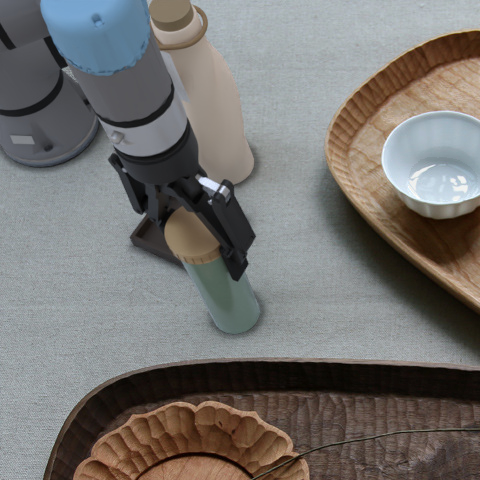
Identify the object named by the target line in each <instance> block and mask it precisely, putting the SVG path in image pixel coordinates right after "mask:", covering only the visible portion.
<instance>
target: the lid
mask: <svg viewBox="0 0 480 480" xmlns="http://www.w3.org/2000/svg"><path fill="white" fill-rule="evenodd" d="M164 234H165V239H166V242H167V245H168V247H169V249H170V250H171V251H172V253H173V255H174V256H176V257H177V258H178V259H179V260H181V261H183V262H185V263H189V264H194V265H195V264H205V263H209V262H212V261H214V260H216V259H217V258H219V257H220V256H221V254H220V251H219V248H220V247H221V244H220V243H219V242H218V241H217V239H216V238H215V237H214V236H213V235H212V234H211V232H210V231H209V230H208V229H207V228H206V226H205V225H204V224H203V223H202V222H201V221H200V219H199V218H198V217H197V216H196V215H195V213H193V212H188V211H186V209H185V208H184V207H183V206H182V207H180V208H179V209H177V210H176V211H175V212H174V213H173V214H172V215H171V216H170V217H169V219H168V220H167V223H166V226H165V231H164Z"/></svg>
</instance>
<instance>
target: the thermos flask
mask: <svg viewBox="0 0 480 480" xmlns="http://www.w3.org/2000/svg"><path fill="white" fill-rule="evenodd" d="M182 263H183V265H184V267H185V268H184V267H183V268H184V269H185V271H186V273H187V275H188V276H189V278H190V280H191V282H192V284H193V286H194V288H195V289H196V291H197V293H198V295H199V297H200V298H201V300H202V302H203V304H204V306H205V308H206V310H207V312H208V313H209V315H210V317H211V319H212V321H213V323H214V325H215V326H216V327H217V329H218V330H220V331H221V332H224V333H226V334H230V335H238V334H243V333H245V332H247V331H249V330H250V329H252V328H253V327H255V325H256V323H257V322H258V320H259V318H260V314H261V308H260V305H259V302H258V300H257V297H256V295H255V292H254V290H253V287H252V285H251V283H250V280H249V277H248V275H247V273H246V270H245V271H244V273H243V275H242V276H241V278H240V279H239V281H238V282H237V281H234V280H232V278H231V276H230V273H229V271H228V269H227V267H226V265H225V262H224V260H223V258H222V256H220V257H219V258H217V259H216V260H214V261H212V262H209V263H205V264H195V265H194V264H189V263H185V262H183V261H182Z"/></svg>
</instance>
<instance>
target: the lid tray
mask: <svg viewBox="0 0 480 480" xmlns="http://www.w3.org/2000/svg"><path fill="white" fill-rule="evenodd" d="M169 200H170V201H172V203H171V204H170V206H169V207H168V209H167V211H169V210H170V208H173V209H175V210H177V209H179V208H180V207H182V205H181V203H180V202H179V201H178V200H177V199H176V198H175V197H172V196H170V195H169ZM128 238H129V239H130V241H131V243H132V244H133V246H135V247H137V248H139V249H142V250H144V251H146V252H148V253H150V254H153V255H155V256H157V257H159V258H162V259H164V260H166V261H169V262H171V263H173V264H175V265H178V266H180V267H182V268H184V269H185V267H184V265H183V263H182V261H181V260H179V259H178V258H177V257H175V256H174V255H173V253H172V251H171V250H170V249H169V247H168V245H167V242H166V239H165V237H164V235H163V234H162V233H161V232H160V230H159V228H158V226H157V225H156V223H154V222H152V221H151V220H150V219H149V217H148V214H146V213H145V214H144V216H143V218H142V219H141V221H140V222H139V223H138V225H136V227H135V229H134V230H133V231H132V232H131V234H130V235H129V237H128Z"/></svg>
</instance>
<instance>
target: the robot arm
mask: <svg viewBox="0 0 480 480" xmlns="http://www.w3.org/2000/svg"><path fill="white" fill-rule="evenodd" d="M150 21H151V16H150V14H149V4H148V0H0V147H1V149H2V150H3V152H5V154H6V155H7V156H8V157H9V158H10V159H12V161H15V162H17V163H19V164H21V165H24V166H27V167H34V168H35V167H36V168H42V167H45V168H46V167H52V166H55V165H59V164H63V163H64V162H68V161H70V160H71V159H73V158H74V157H76V156H77V155H79V154H81V153H82V151H84V150H85V149H86V148H87V147H88V146H89V145H90V144H91V143H92V141H93V140H94V138H95V136H96V134H97V133H98V129H99V125H100V124H101V126H102V128H103V130H104V132H105V133H106V135H107V137H108V139H109V141H110V143H111V144H112V147H113V151H112V152H111V154H110V155H109V157H108V158H107V161H108V162H109V164H110V165H111V167H112V168H113V169H114V171H116V173H117V175H118V178H119V180H120V182H121V184H122V186H123V188H124V191H125V194H126V197H127V198H128V201H129V203H130V205H131V207H132V209H133V211H134V212H135V213H136V214H137V215H140V216H142V215H144V214H145V215H146V214H148V217H149V219H150V220H151V221H152V222H154V223H156V225H157V226H158V228H159V230H160V232H161V233H162V234H163V235H164V237H165V234H164V231H165V226H166V223H167V220H168V219H169V217H170V216H171V215H172V214H173V213H174V212H175V211H176V210H175V209H173V208H170V210H169V211H167V209H168V207H169V206H170V204H171V203H172V201H170V200H169V195H170V196H172V197H175V198H176V199H177V200H178V201H179V202H180V203H181V205H182V206H183V207H184V208H185V209H186V211H188V212H193V213H195V215H196V216H197V217H198V218H199V219H200V221H201V222H202V223H203V224H204V225H205V226H206V228H207V229H208V230H209V231H210V232H211V234H212V235H213V236H214V237H215V238H216V239H217V241H218V242H219V243H220V244H221V247H220V248H219V251H220V254H221V256H222V258H223V260H224V262H225V265H226V267H227V269H228V271H229V273H230V276H231V278H232V280H234V281H237V282H238V281H239V279H240V278H241V276H242V275H243V273H244V271H245V272H246V270H247V268H248V267H249V265H250V263H249V261H248V258H247V257H248V255H249V254H248V251H249V249H250V247H251V246H252V244H253V243H254V241H255V240H256V238H257V234H256V232H255V231H254V229H253V227H252V225H251V224H250V221H249V220H248V218H247V216H246V214H245V212H244V210H243V209H242V207H241V205H240V202H239V201H238V199H237V197H236V195H235V187H234V185H235V184H234V185H233V184H232V182H230V181H229V180H227V179H224V180H223V181H222V182H221V183H219V184H218V183H216V182H214V181H212V180H210V179H208V176H207V173H206V172H205V170H204V169H203V168H202V167H201V166H200V164H199V159H198V156H199V148H198V142H197V139H196V137H195V134H194V132H193V129H192V127H191V124H190V122H189V119H188V117H187V115H186V111H185V108H184V106H183V104H182V101H181V99H180V97H179V94H178V92H177V90H176V87H175V85H174V83H173V80H172V78H171V76H170V74H169V72H168V71H167V68H166V65H165V63H164V60H163V57H162V55H161V52H160V49H159V47H158V44H157V41H156V39H155V36H154V34H153V31H152V29H151V26H150V24H149V23H150ZM65 68H69V70H70V71H71V73H72V75H73V76H74V78H75V79H74V78H73V77H72V76H70V75H69V74H68V73H67V72H66V71H64V69H65ZM175 257H176V256H175Z"/></svg>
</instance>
